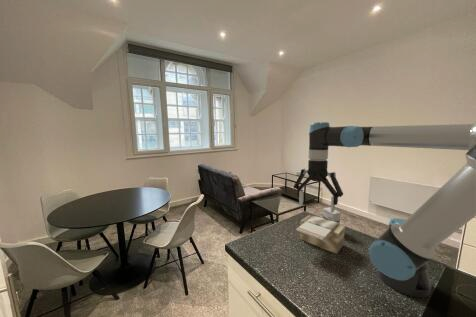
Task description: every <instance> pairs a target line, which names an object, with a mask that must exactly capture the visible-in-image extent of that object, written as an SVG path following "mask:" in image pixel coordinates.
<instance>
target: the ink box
mask: <svg viewBox="0 0 476 317" xmlns="http://www.w3.org/2000/svg"><path fill="white" fill-rule="evenodd" d="M321 218H324V219H327V220H330V221H334V222H337V223H338V224H341V212H340V211H339V210H336V209H335V211H334V212H333V213H331V206H328V207H323V208H322V217H321Z"/></svg>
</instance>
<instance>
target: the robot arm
mask: <svg viewBox="0 0 476 317" xmlns="http://www.w3.org/2000/svg"><path fill="white" fill-rule="evenodd" d="M308 136H309V137H308V138H309V144H308V145H309V146H308V161H307V162H308V165H307V166H308V167H307V168H308V169H305V168H302V169H301V170H300V174H299V176H298V178H296V181H295V183H294V185H293V188H294V189H296V190H297V198H298V205H300V206H302V205H303V204H304V189H303V188H304V187H305V186H306V185H307V184H309V182H310V181H312V182H319V183H321V182H322V183H323V184H324V186H325V187H326V189H327V190H328V192H330V194H331V195H332V196H331V198H330V199H331V201H330V207H331V213H333V212H334V211H335V210H336V208H335V206H337V205H338V204H339V198H341V197H343V195H344V192H343V191H342V188H341V186H340V184H339V181H338V179H337V178H336V177H337V176H336V172H335V171H333V172H328V162H329V161H328V158H329V147H346V148H357V147H360V146H363V147H364V146H365V147H367V146H368V147H370V146H371V147H374V146H375V147H389V148H390V147H391V148H393V147H395V148H414V149H416V148H417V149H431V150H432V149H433V150H435V149H436V150H437V149H438V150H453V151H454V150H456V151H458V150H459V151H467V152H466V153H465V154H464V156H465V158H466V163H465V164H464V165H463V166H462V167H461V168H460V169H459V170H458V171H457V172H456V173H455V174H453V176H452V177H450V178H449V179H448V180H447V181H446V182H445V183H444V184H443V185H442V186H441V187H440V188H439V189H438V190H437V191H436V192H435V193H434V194H432V195H431V196H430V197H429V198H428V199H427V200H426V201H425V202H424V203H423V204H422V205H421V206H420V207H418V208H417V209H416V210H415V211H414V212H413V213H412V214H411V215H410V216H409V217H407V219H404V218H397V217H396V218H391V219H390V220H389V222H388V229H386V231H384V232H383V233H382V234H381V235H380V236H379V237H378V238H377V239H375V240H374V241H373V242H371V244H370V245H369V248H368V255H369V258H370V261H371V262H372V264H373V266H374V267H376V269H377V275H378V277H379V278H380V279H381V281H383V283H384V284H386V285H387V286H388V287H390V288H391V289H393V290H395V291H396V292H399V293H401V294H404V295H407V296H410V297H413V298H414V297H415V298H427V297H429V296H430V295H431V293H432V282H431V280H430V279H431V278H430V276H429V273H428V264H429V262H430V261H431V260H432V259H434V258H435V257H436V252H435V248H436V247H437V246H438V245H440V244H441V243H443V242H444V241H445V240H446V239H448V238H449V237H450V236H452V235H453V234H454V233H455V232H457V231H458V230H459V229H461V228H462V227H463V226H465V225H466V224H467V223H469V222H470V221H471V220H473V219H474V218H476V122H475V123H462V124H461V123H460V124H459V123H457V124H429V125H428V124H425V125H423V124H422V125H389V126H387V125H386V126H358V125H357V126H356V125H355V126H354V125H348V126H347V125H346V126H331V125H330V123H329V122H327V121H325V122H323V121H322V122H321V121H320V122H311V124H310V126H309V133H308ZM305 175H308V177H307V178H306V179H305V180H303V179H304V178H305ZM327 177H329V178H330V180H331V183H332V184H333V185H332V184H331V183H330V181H329V179H328V178H327ZM302 181H303V182H302ZM301 182H302V183H301ZM333 186H334V187H333Z"/></svg>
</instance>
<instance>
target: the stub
mask: <svg viewBox="0 0 476 317" xmlns="http://www.w3.org/2000/svg"><path fill="white" fill-rule="evenodd" d="M296 231H297V232H299V233H300V232H302V233H304V234H307V235H310V236H312V237H315V238H318V239H320V240H324V239H325V238H326V237H327V236H328V234H329V233H330V232H331V230H330V229H327V228H324V227H321V226H318V225H315V224H312V223H309V222H305V223H303V224H302V225H301V226H300V225H299V226H298V227H297V228H296Z"/></svg>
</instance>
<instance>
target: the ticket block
mask: <svg viewBox="0 0 476 317" xmlns="http://www.w3.org/2000/svg"><path fill="white" fill-rule="evenodd" d="M305 222H309V223H312V224H315V225H318V226H321V227H324V228H327V229H330V230H331V232H330V233H329V234H328V236H327V237H326V238H325V239H324V240H320V239H318V238H315V237H312V236H310V235H307V234H304V233H302V232H299V240H301V241H304V242H305V243H309V244H311V245H314V246H316V247H318V248H320V249H323V250H326V251H328V252H330V253H333V254H334V255H335V254H336V255H337V254H338V253H339V252H340V250H341V249H342V248H343V247H344V243H345V230H346V225H343V224H341V223H340V224H338V223H337V222H334V221H330V220H327V219H324V218H322V217H320V216H317V215H312V214H308V215H307V216H305V217H304V218H302V219H301V220H300V225H299V226H301V225H302V224H303V223H305Z"/></svg>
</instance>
